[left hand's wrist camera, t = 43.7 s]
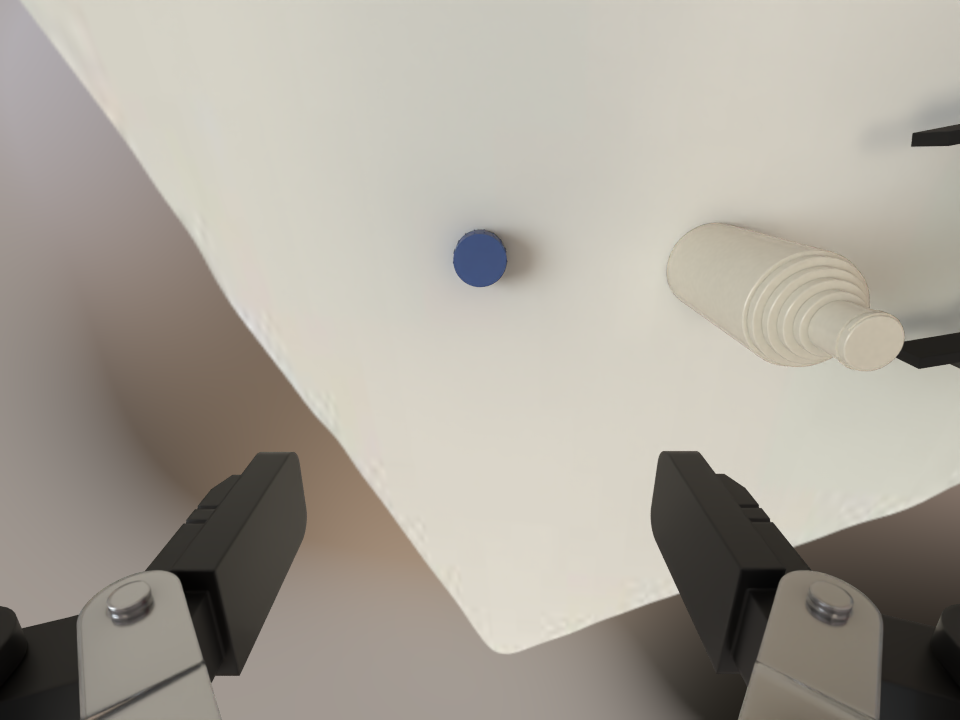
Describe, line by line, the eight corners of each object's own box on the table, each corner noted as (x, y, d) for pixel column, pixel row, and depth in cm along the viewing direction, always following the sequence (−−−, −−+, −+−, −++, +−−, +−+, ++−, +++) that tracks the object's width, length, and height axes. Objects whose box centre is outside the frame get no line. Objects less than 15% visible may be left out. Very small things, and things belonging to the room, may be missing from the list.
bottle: (771, 256, 39) (983, 327, 22) (710, 323, 41) (864, 434, 24) (708, 204, 37) (885, 240, 21) (648, 276, 39) (768, 360, 23)
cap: (443, 261, 39) (441, 267, 37) (473, 218, 38) (473, 221, 36) (485, 290, 40) (486, 298, 38) (516, 249, 39) (518, 254, 37)
